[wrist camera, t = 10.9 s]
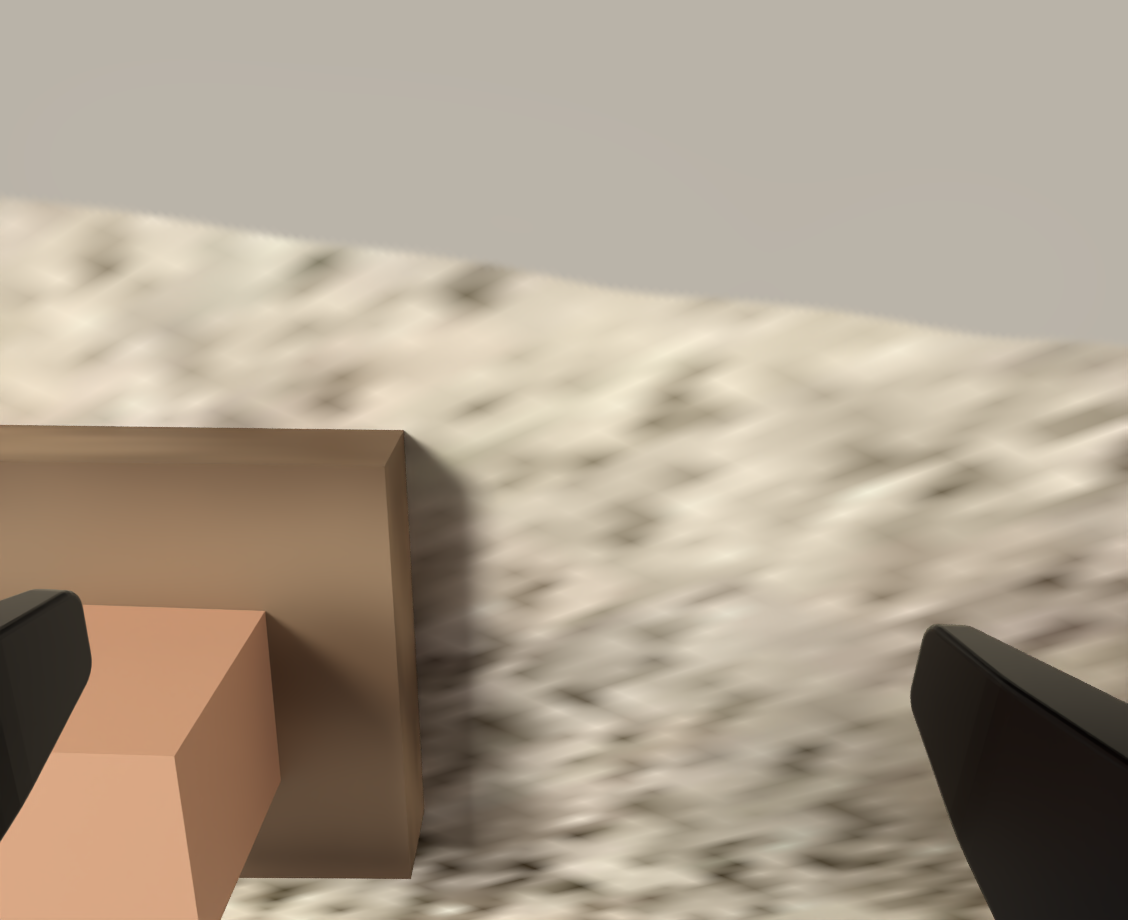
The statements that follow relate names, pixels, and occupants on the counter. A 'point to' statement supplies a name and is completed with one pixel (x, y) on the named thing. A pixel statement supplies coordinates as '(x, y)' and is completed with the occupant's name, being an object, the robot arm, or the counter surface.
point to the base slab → (255, 599)
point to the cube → (151, 773)
